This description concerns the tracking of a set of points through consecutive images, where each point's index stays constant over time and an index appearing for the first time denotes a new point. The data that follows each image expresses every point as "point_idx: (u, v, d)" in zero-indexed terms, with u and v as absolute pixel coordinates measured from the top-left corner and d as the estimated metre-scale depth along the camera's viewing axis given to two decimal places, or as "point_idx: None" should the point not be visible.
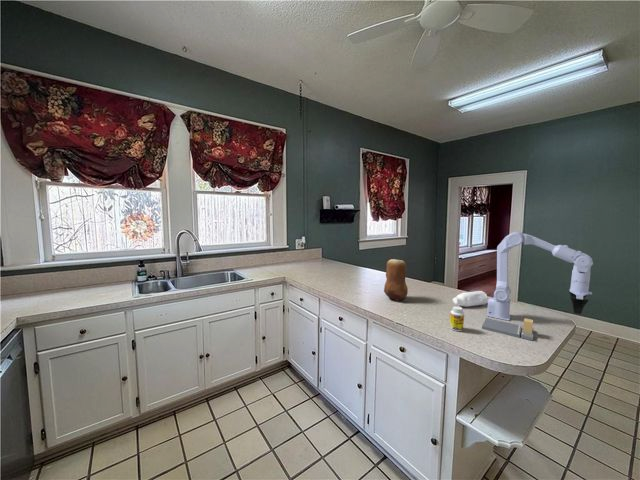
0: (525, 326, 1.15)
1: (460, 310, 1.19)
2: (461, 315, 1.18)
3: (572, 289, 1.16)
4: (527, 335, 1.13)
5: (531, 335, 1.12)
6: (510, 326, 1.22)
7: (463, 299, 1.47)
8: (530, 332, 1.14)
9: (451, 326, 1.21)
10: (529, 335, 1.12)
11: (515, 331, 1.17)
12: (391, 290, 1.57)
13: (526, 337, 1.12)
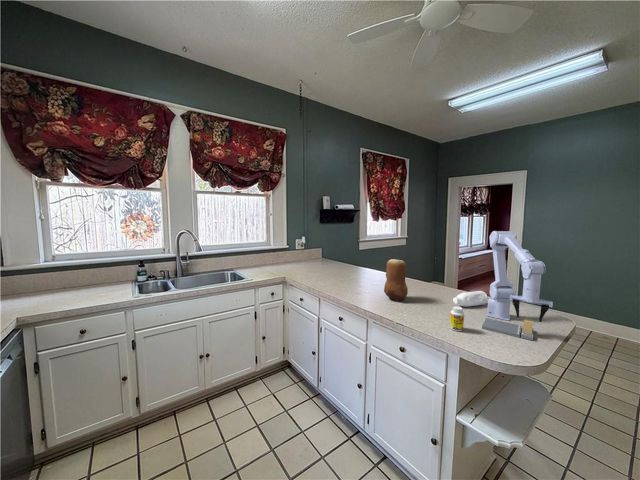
0: (525, 326, 1.15)
1: (460, 310, 1.19)
2: (461, 315, 1.18)
3: None
4: (527, 335, 1.13)
5: (531, 335, 1.12)
6: (510, 326, 1.22)
7: (463, 299, 1.47)
8: (530, 332, 1.14)
9: (451, 326, 1.21)
10: (529, 335, 1.12)
11: (515, 331, 1.17)
12: (392, 290, 1.57)
13: (526, 337, 1.12)
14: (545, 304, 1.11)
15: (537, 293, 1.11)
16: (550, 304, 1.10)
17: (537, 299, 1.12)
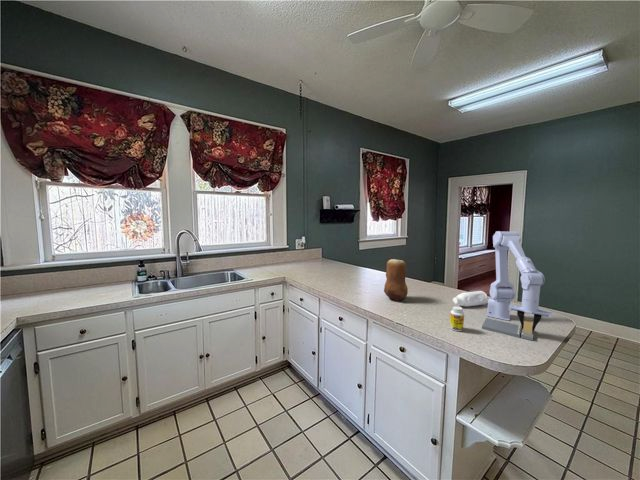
0: (525, 326, 1.15)
1: (460, 310, 1.19)
2: (461, 315, 1.18)
3: None
4: (527, 335, 1.13)
5: (531, 335, 1.12)
6: (510, 326, 1.22)
7: (463, 299, 1.47)
8: (530, 332, 1.14)
9: (451, 326, 1.21)
10: (529, 335, 1.12)
11: (515, 331, 1.17)
12: (392, 290, 1.57)
13: (526, 337, 1.12)
14: (544, 315, 1.12)
15: (536, 304, 1.12)
16: (549, 315, 1.10)
17: (536, 310, 1.12)
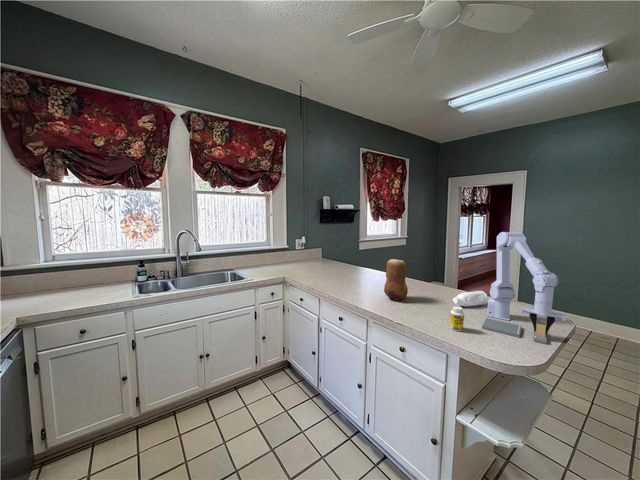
0: (538, 329, 1.12)
1: (460, 310, 1.19)
2: (461, 315, 1.18)
3: None
4: (540, 338, 1.10)
5: (544, 338, 1.10)
6: (510, 326, 1.22)
7: (463, 299, 1.47)
8: (543, 335, 1.11)
9: (451, 326, 1.21)
10: (542, 338, 1.10)
11: (515, 331, 1.17)
12: (391, 290, 1.57)
13: (539, 340, 1.09)
14: (558, 317, 1.09)
15: (549, 306, 1.09)
16: (563, 318, 1.07)
17: (549, 312, 1.10)
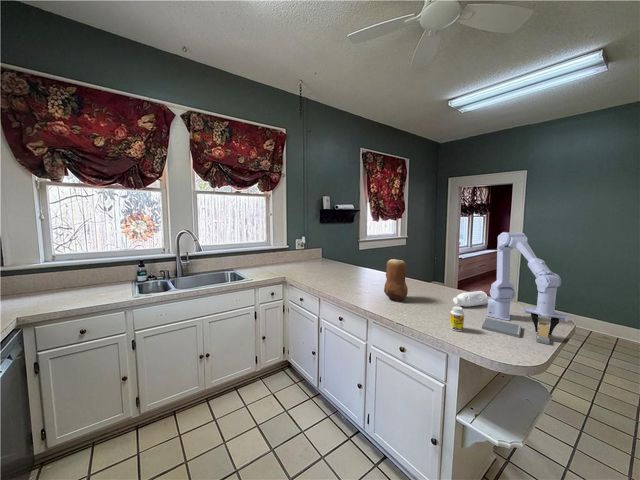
0: (541, 329, 1.12)
1: (460, 310, 1.19)
2: (461, 315, 1.18)
3: None
4: (543, 339, 1.09)
5: (547, 339, 1.09)
6: (510, 326, 1.22)
7: (463, 299, 1.47)
8: (546, 336, 1.11)
9: (451, 326, 1.21)
10: (545, 339, 1.09)
11: (515, 331, 1.17)
12: (391, 290, 1.57)
13: (542, 341, 1.08)
14: (560, 318, 1.08)
15: (552, 307, 1.09)
16: (566, 318, 1.07)
17: (552, 313, 1.09)
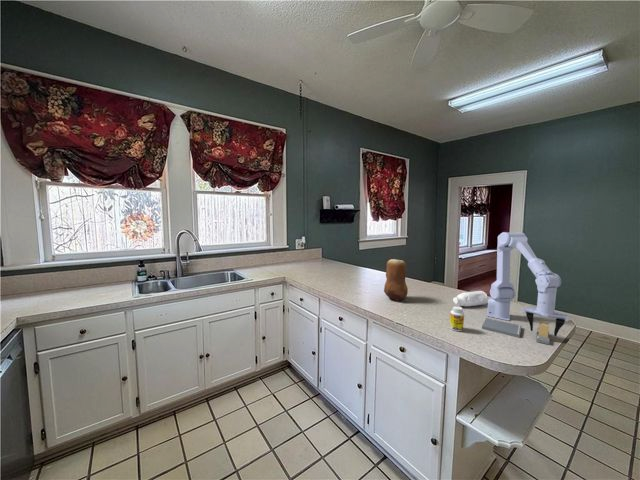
0: (541, 329, 1.12)
1: (460, 310, 1.19)
2: (461, 315, 1.18)
3: None
4: (543, 339, 1.09)
5: (547, 339, 1.09)
6: (510, 326, 1.22)
7: (463, 299, 1.47)
8: (546, 336, 1.11)
9: (451, 326, 1.21)
10: (545, 339, 1.09)
11: (515, 331, 1.17)
12: (392, 290, 1.57)
13: (542, 341, 1.08)
14: (560, 318, 1.08)
15: (552, 307, 1.09)
16: (566, 318, 1.07)
17: (552, 313, 1.09)
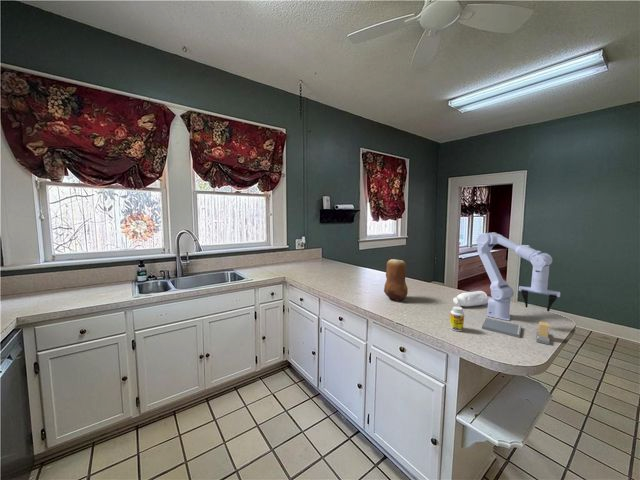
0: (541, 329, 1.12)
1: (460, 310, 1.19)
2: (461, 315, 1.18)
3: None
4: (543, 339, 1.09)
5: (547, 339, 1.09)
6: (510, 326, 1.22)
7: (463, 299, 1.47)
8: (546, 336, 1.11)
9: (451, 326, 1.21)
10: (545, 339, 1.09)
11: (515, 331, 1.17)
12: (392, 290, 1.57)
13: (542, 341, 1.08)
14: (553, 294, 1.17)
15: (545, 284, 1.17)
16: (558, 294, 1.15)
17: (545, 289, 1.17)
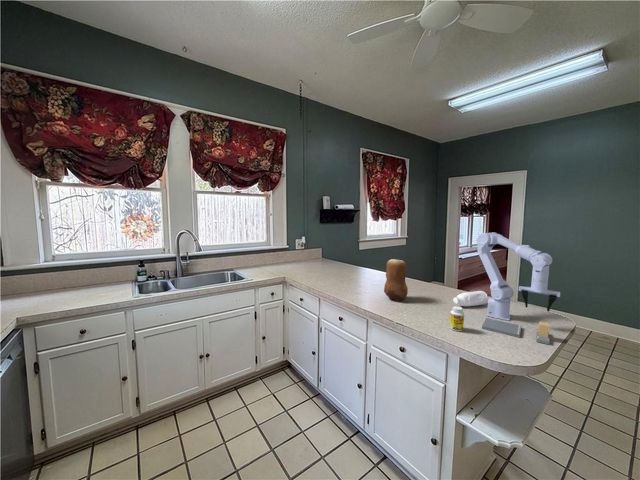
0: (541, 329, 1.12)
1: (460, 310, 1.19)
2: (461, 315, 1.18)
3: None
4: (543, 339, 1.09)
5: (547, 339, 1.09)
6: (510, 326, 1.22)
7: (463, 299, 1.47)
8: (546, 336, 1.11)
9: (451, 326, 1.21)
10: (545, 339, 1.09)
11: (515, 331, 1.17)
12: (391, 290, 1.57)
13: (542, 341, 1.08)
14: (553, 294, 1.17)
15: (545, 284, 1.17)
16: (558, 294, 1.15)
17: (545, 289, 1.17)
